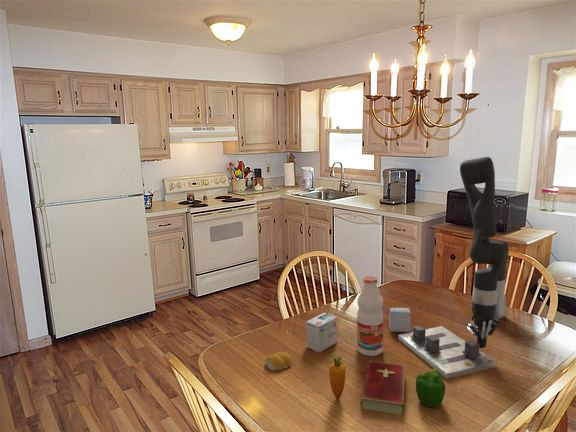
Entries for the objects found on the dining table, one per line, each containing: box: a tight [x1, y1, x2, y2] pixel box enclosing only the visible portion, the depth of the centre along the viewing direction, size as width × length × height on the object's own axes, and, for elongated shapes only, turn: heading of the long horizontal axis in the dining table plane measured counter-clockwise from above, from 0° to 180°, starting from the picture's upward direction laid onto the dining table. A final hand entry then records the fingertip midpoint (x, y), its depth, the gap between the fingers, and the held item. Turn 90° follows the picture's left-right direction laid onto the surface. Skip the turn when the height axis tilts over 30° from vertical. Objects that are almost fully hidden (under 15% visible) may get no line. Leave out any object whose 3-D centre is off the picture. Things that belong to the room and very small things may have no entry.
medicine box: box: [388, 307, 412, 333], centre depth 166 cm, size 8×4×9 cm, turn 84°
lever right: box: [411, 325, 426, 342], centre depth 153 cm, size 4×4×4 cm
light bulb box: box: [305, 312, 338, 353], centre depth 156 cm, size 11×7×11 cm, turn 134°
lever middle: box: [424, 335, 441, 352], centre depth 146 cm, size 4×4×4 cm
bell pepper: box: [415, 368, 446, 409], centre depth 120 cm, size 8×8×10 cm
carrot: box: [328, 352, 347, 400], centre depth 123 cm, size 5×5×15 cm
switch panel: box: [397, 325, 497, 380], centre depth 148 cm, size 20×28×2 cm
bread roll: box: [265, 351, 292, 371], centre depth 144 cm, size 8×9×4 cm
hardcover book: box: [360, 360, 406, 415], centre depth 127 cm, size 12×21×4 cm, turn 163°
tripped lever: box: [462, 339, 481, 358], centre depth 141 cm, size 4×4×4 cm
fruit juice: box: [356, 275, 384, 357], centre depth 149 cm, size 9×9×28 cm
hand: (481, 346), depth 142 cm, fingers closed
